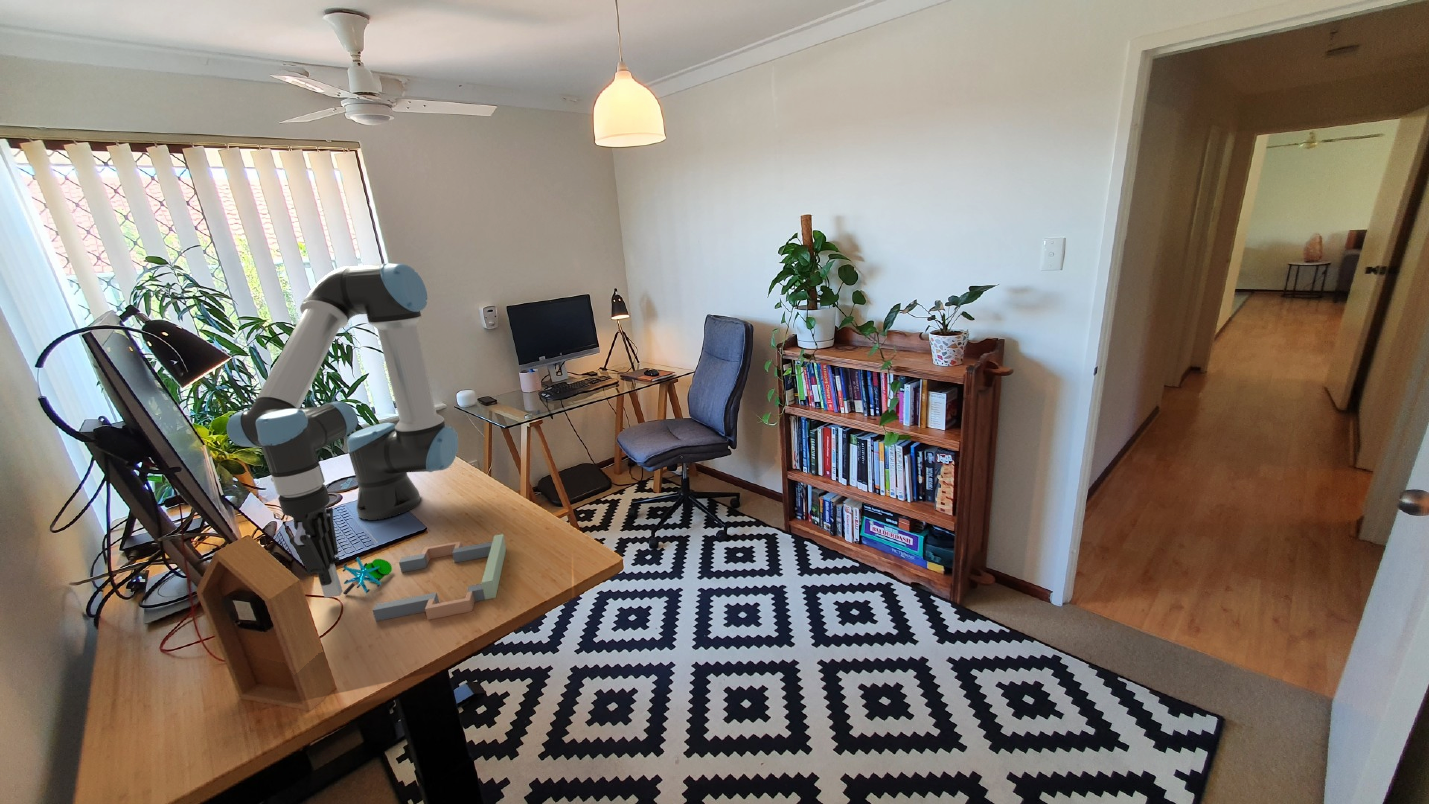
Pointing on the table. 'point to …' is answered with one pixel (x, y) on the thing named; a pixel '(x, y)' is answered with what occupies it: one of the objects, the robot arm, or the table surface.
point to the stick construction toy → (367, 573)
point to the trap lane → (430, 601)
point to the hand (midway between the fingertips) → (333, 594)
